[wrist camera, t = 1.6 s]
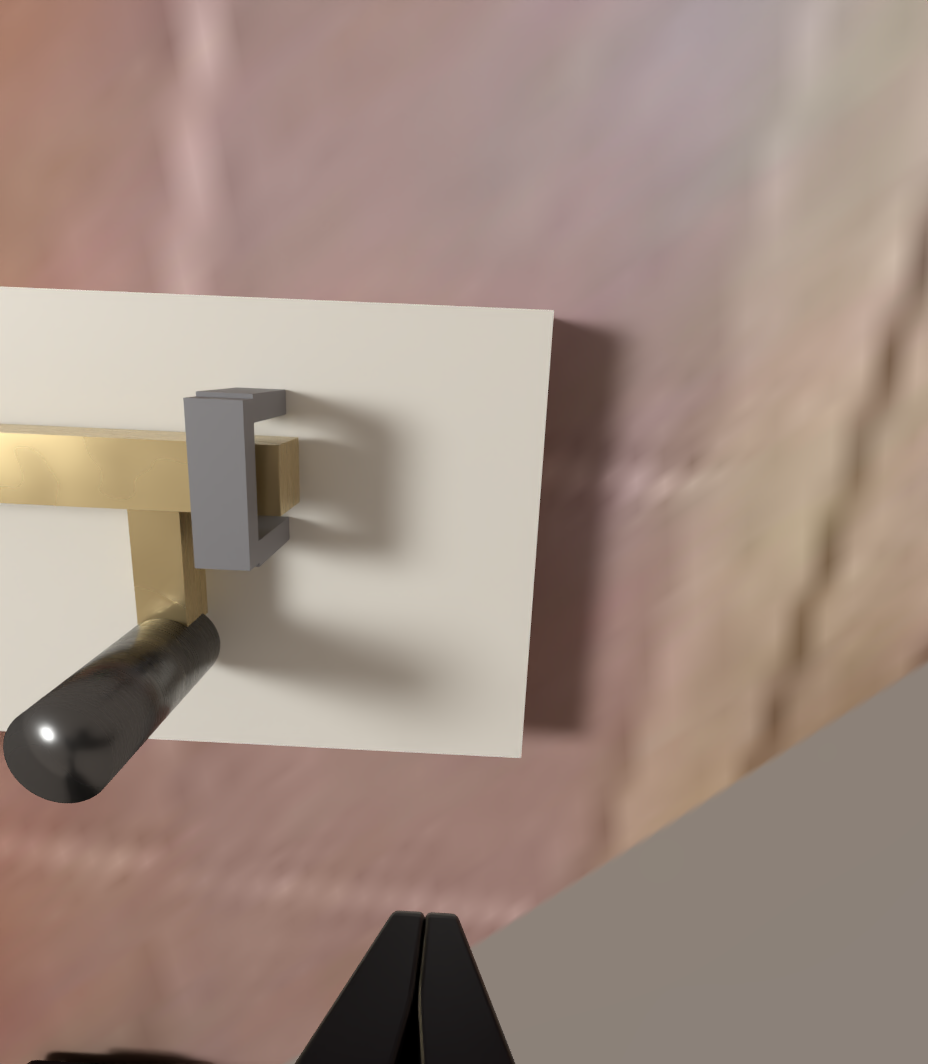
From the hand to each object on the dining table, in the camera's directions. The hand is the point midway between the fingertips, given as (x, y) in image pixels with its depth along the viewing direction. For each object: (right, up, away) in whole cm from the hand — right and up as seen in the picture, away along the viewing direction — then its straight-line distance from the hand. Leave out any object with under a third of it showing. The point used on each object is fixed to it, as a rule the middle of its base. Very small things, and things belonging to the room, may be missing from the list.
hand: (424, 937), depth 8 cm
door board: (-10, +6, +10) cm, 15 cm away
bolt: (-9, +5, +8) cm, 13 cm away
